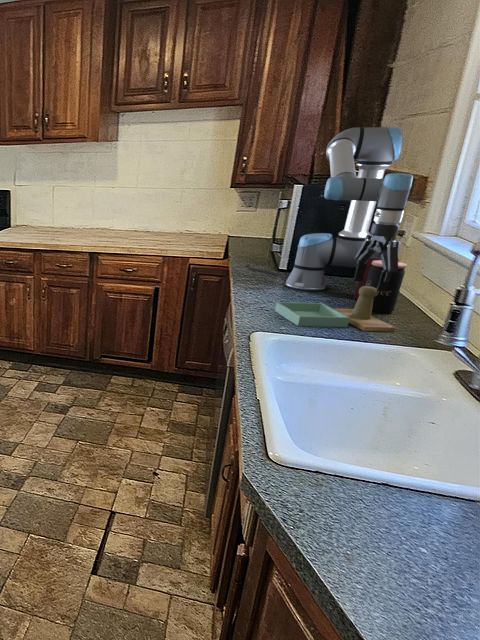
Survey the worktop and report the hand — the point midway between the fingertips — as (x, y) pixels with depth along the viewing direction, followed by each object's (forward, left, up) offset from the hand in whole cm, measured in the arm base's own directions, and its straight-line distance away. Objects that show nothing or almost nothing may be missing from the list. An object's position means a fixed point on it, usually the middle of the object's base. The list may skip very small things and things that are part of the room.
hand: (369, 286), depth 182 cm
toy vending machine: (-31, +22, -13) cm, 40 cm away
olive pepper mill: (0, 0, -11) cm, 11 cm away
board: (0, 0, -13) cm, 13 cm away
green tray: (-2, -17, -13) cm, 21 cm away
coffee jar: (-15, +14, -13) cm, 24 cm away
